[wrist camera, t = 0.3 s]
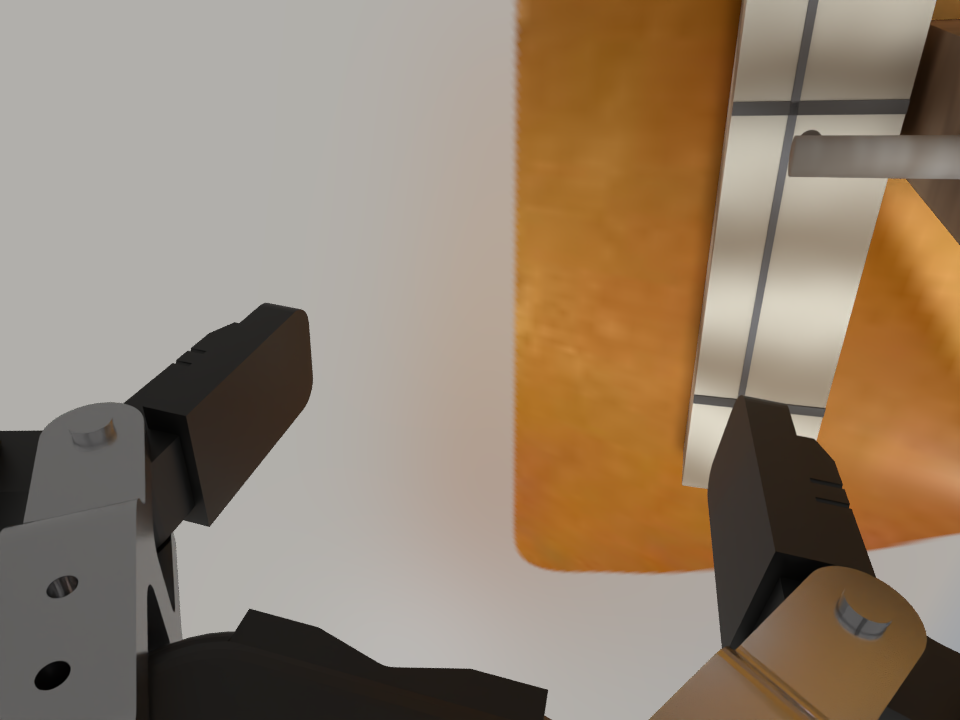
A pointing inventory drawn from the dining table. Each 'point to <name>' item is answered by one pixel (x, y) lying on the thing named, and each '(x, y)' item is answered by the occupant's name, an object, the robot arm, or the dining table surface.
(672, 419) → the dining table surface
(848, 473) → the dining table surface
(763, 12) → the batten
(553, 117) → the dining table surface
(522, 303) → the dining table surface
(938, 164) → the upright wooden pillar
